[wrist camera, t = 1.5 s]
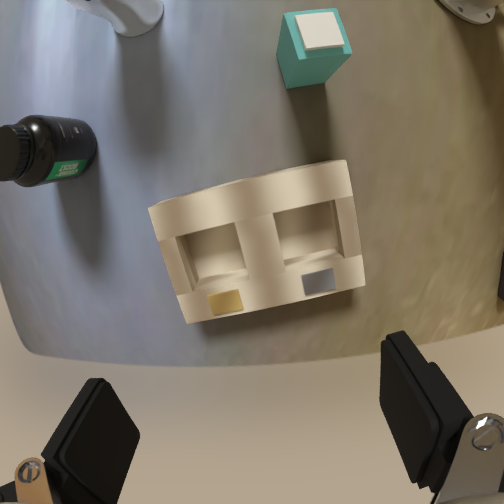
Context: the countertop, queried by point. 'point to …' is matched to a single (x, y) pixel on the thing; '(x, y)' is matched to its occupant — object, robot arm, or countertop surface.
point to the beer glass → (124, 14)
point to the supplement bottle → (45, 150)
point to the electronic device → (501, 282)
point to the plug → (311, 46)
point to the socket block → (261, 241)
